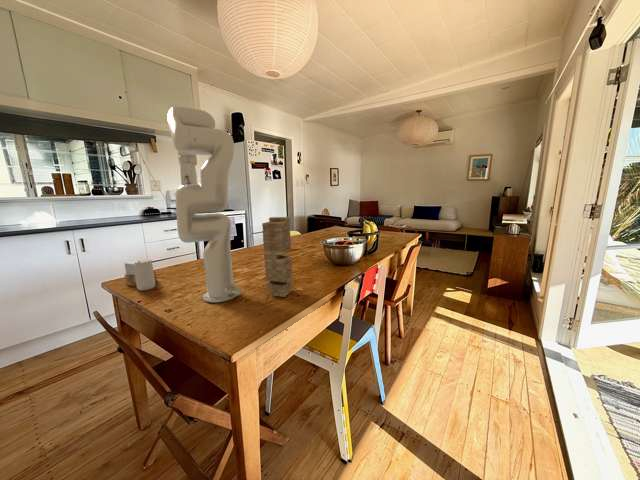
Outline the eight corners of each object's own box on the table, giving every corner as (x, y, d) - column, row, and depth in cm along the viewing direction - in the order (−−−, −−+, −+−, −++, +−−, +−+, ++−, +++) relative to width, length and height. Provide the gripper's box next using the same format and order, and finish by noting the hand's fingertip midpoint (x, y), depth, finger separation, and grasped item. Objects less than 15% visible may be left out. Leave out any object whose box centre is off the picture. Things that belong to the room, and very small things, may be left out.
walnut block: (156, 280, 116) (155, 270, 115) (140, 287, 108) (138, 275, 107) (143, 279, 118) (141, 269, 117) (126, 285, 111) (124, 274, 110)
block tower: (265, 296, 95) (260, 218, 90) (275, 287, 103) (271, 216, 98) (284, 298, 93) (281, 219, 88) (293, 289, 101) (290, 216, 96)
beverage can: (134, 289, 105) (129, 261, 102) (150, 284, 110) (146, 258, 108) (142, 292, 102) (138, 263, 99) (159, 287, 107) (155, 259, 105)
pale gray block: (153, 270, 114) (151, 260, 113) (137, 275, 108) (135, 264, 107) (142, 269, 116) (140, 259, 116) (126, 274, 110) (124, 263, 109)
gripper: (184, 163, 124) (188, 198, 127) (172, 159, 108) (177, 199, 111) (201, 163, 126) (204, 198, 129) (191, 159, 109) (196, 199, 112)
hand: (192, 199), depth 120 cm, fingers open, 9 cm apart
